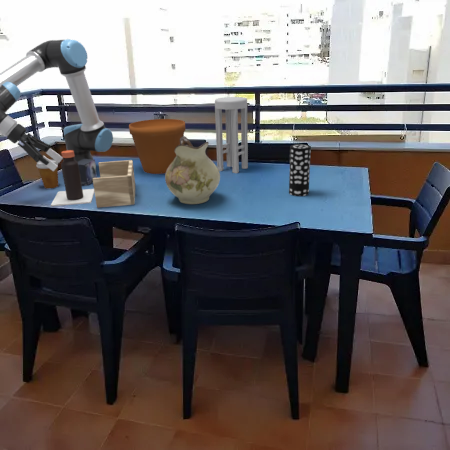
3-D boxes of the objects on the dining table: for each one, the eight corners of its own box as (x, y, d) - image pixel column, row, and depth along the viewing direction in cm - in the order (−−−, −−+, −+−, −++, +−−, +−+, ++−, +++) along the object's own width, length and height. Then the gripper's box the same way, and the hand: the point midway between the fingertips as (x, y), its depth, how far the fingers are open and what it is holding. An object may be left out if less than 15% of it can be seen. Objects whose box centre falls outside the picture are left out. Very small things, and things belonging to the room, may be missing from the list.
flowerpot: (165, 159, 247) (161, 117, 238) (199, 167, 229) (196, 122, 220) (123, 170, 229) (117, 124, 220) (156, 179, 211) (151, 130, 202)
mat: (58, 192, 196) (58, 191, 196) (95, 189, 199) (94, 188, 199) (50, 206, 180) (50, 205, 180) (90, 203, 182) (90, 201, 182)
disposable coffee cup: (66, 184, 208) (62, 160, 203) (51, 190, 200) (46, 165, 195) (51, 182, 212) (46, 158, 207) (36, 188, 204) (31, 163, 199)
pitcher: (200, 212, 168) (197, 147, 159) (153, 202, 180) (147, 142, 171) (230, 195, 186) (229, 137, 177) (186, 188, 198) (182, 132, 188)
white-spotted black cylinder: (296, 197, 181) (298, 149, 173) (285, 192, 188) (286, 146, 180) (312, 194, 185) (315, 147, 177) (300, 188, 191) (302, 143, 184)
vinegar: (79, 194, 192) (71, 149, 184) (86, 197, 187) (78, 151, 180) (64, 198, 188) (56, 151, 180) (71, 201, 183) (63, 154, 175)
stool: (253, 167, 226) (252, 97, 213) (237, 174, 214) (236, 101, 201) (227, 164, 234) (226, 96, 221) (211, 171, 222) (208, 100, 209)
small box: (88, 186, 205) (84, 164, 201) (75, 185, 206) (71, 164, 202) (98, 179, 214) (95, 158, 210) (86, 179, 215) (82, 158, 211)
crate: (102, 187, 202) (98, 162, 197) (135, 185, 204) (132, 159, 199) (96, 207, 177) (92, 179, 172) (134, 204, 179) (131, 176, 175)
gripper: (14, 131, 184) (57, 163, 193) (-3, 143, 162) (47, 179, 170) (25, 118, 183) (68, 150, 191) (9, 128, 161) (59, 165, 169)
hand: (58, 164), depth 181 cm, fingers open, 13 cm apart
